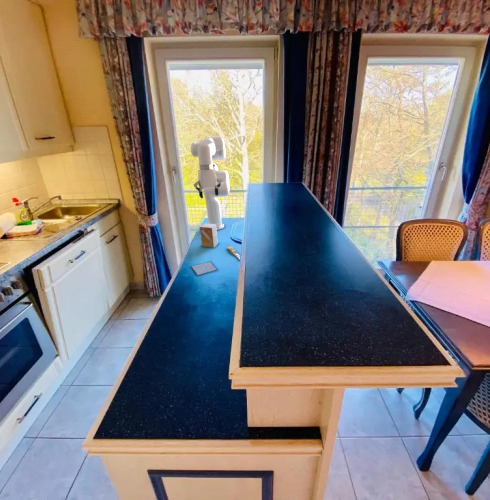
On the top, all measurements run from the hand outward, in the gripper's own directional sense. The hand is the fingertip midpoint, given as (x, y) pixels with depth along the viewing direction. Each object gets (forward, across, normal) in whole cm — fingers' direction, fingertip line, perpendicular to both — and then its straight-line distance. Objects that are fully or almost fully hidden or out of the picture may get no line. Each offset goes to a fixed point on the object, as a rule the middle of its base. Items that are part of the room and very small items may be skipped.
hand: (209, 196), depth 167 cm
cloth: (+28, +19, +32) cm, 47 cm away
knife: (+28, -2, +26) cm, 39 cm away
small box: (+28, +5, +7) cm, 30 cm away
